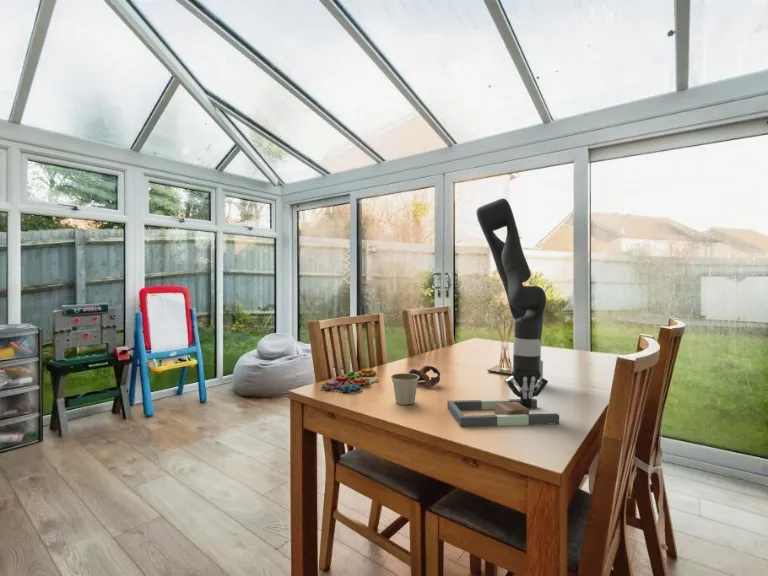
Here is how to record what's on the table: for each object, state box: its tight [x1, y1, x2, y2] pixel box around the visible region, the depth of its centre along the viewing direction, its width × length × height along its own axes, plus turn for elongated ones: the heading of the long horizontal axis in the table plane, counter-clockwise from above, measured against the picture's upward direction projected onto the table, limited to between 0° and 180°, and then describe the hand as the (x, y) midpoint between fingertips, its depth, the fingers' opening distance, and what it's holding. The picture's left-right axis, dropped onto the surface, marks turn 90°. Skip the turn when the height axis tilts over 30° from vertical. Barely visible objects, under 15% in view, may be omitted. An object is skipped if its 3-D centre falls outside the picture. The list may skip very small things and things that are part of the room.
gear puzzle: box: [319, 368, 380, 395], centre depth 156 cm, size 31×16×4 cm, turn 157°
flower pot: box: [390, 372, 420, 406], centre depth 131 cm, size 9×9×9 cm
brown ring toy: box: [408, 365, 441, 389], centre depth 151 cm, size 12×10×8 cm
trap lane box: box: [446, 398, 560, 428], centre depth 118 cm, size 28×15×2 cm, turn 95°
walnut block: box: [494, 402, 530, 415], centre depth 116 cm, size 7×7×4 cm
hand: (525, 410), depth 119 cm, fingers closed
